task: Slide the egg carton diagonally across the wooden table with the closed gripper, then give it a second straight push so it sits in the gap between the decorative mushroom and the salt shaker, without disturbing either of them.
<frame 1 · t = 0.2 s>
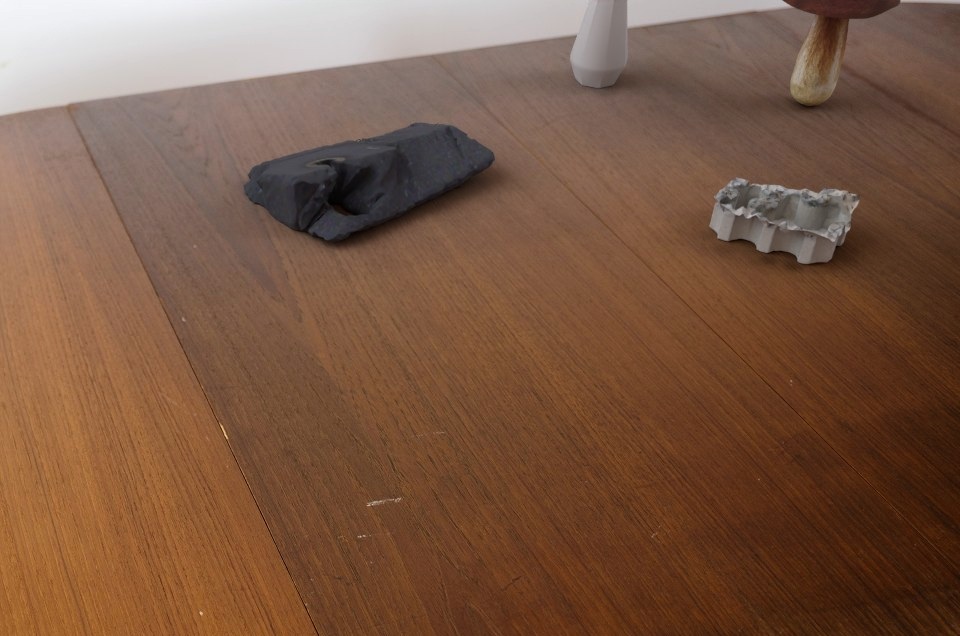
dark slate chunk: (372, 188, 115), on the table
egg carton: (774, 238, 106), on the table
decorative mushroom: (806, 104, 126), on the table
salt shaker: (594, 81, 132), on the table
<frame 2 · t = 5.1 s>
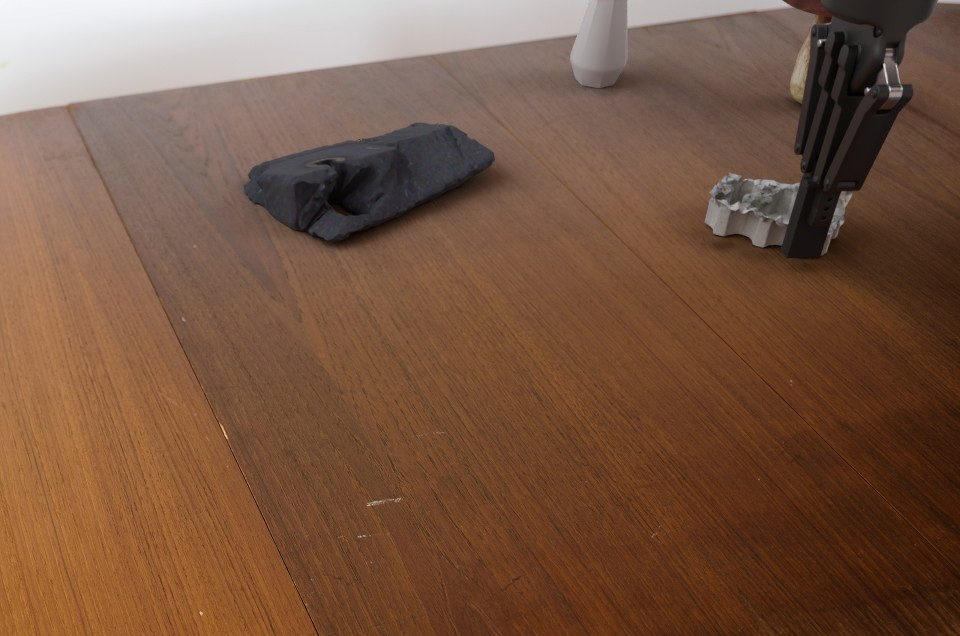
hand: (800, 252, 101), 1 cm above the table, tool pointing down, fingers closed
egg carton: (769, 232, 107), on the table, touching gripper
everything else where it was.
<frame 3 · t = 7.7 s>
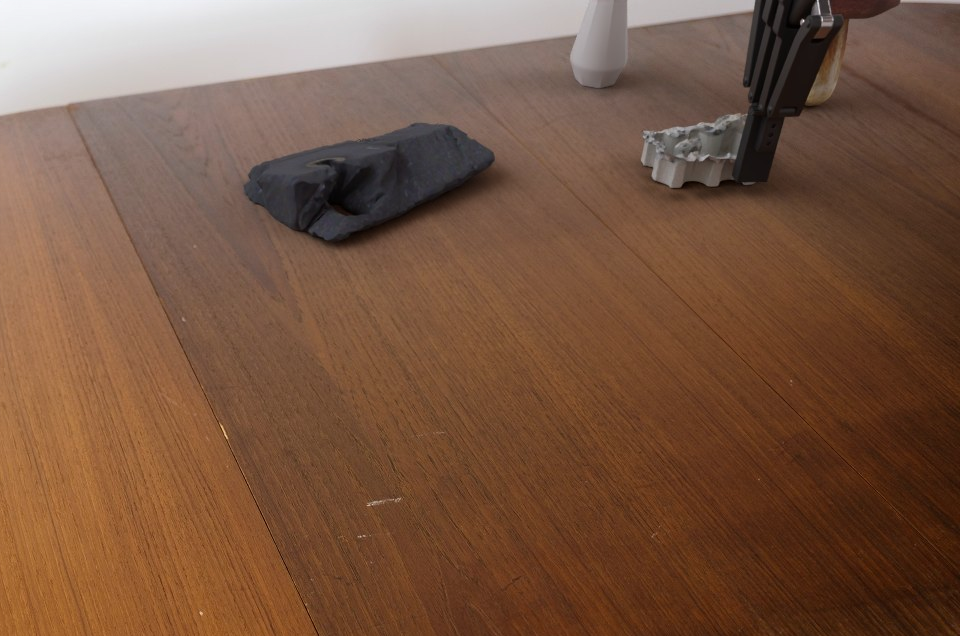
hand: (749, 178, 111), 1 cm above the table, tool pointing down, fingers closed
egg carton: (701, 172, 116), on the table, touching gripper
everything else where it was.
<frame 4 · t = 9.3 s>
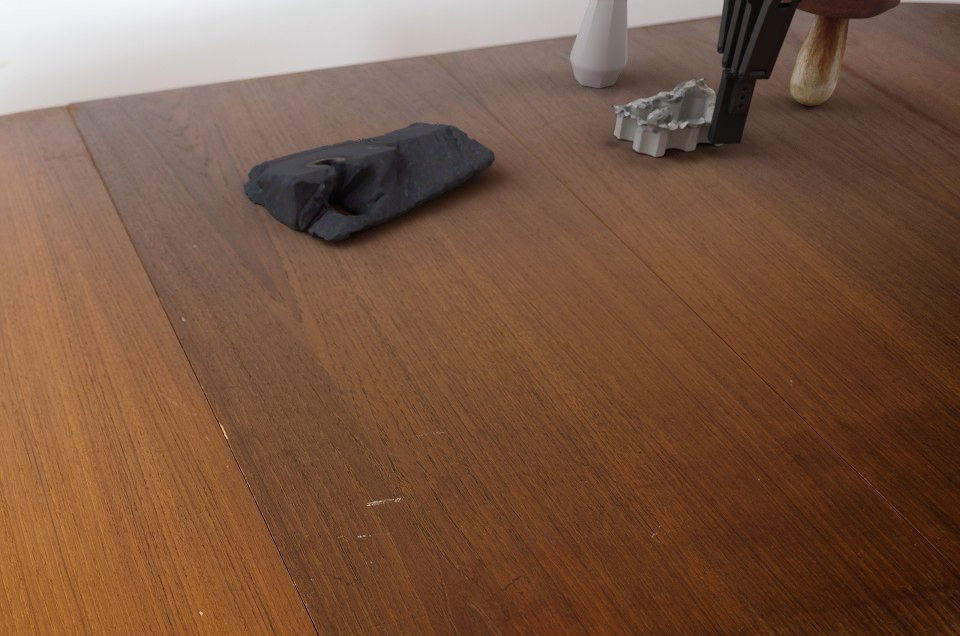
hand: (723, 140, 117), 1 cm above the table, tool pointing down, fingers closed
egg carton: (671, 139, 121), on the table, touching gripper
everything else where it was.
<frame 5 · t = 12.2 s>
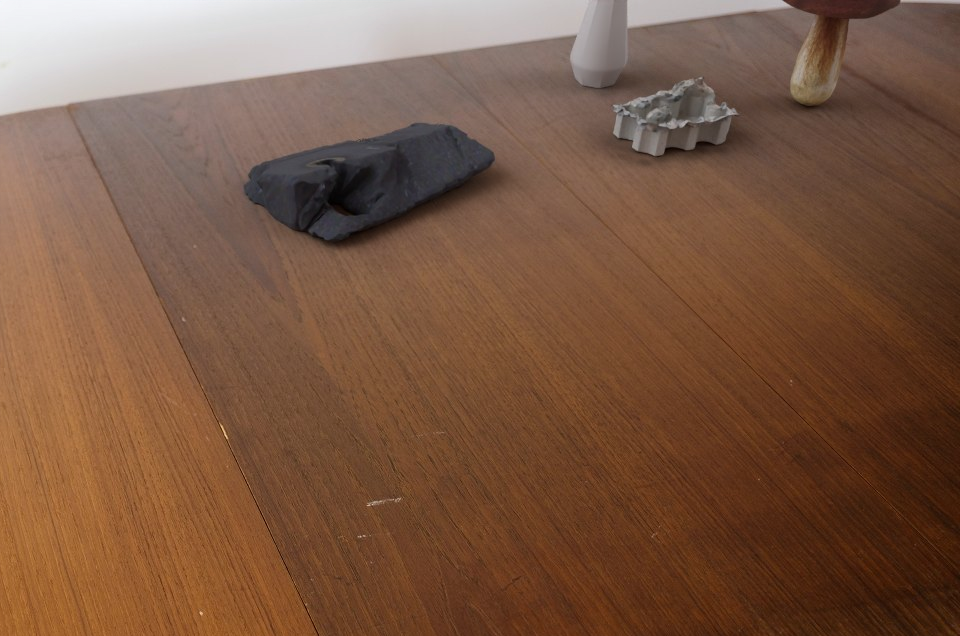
egg carton: (670, 138, 121), on the table
everything else where it was.
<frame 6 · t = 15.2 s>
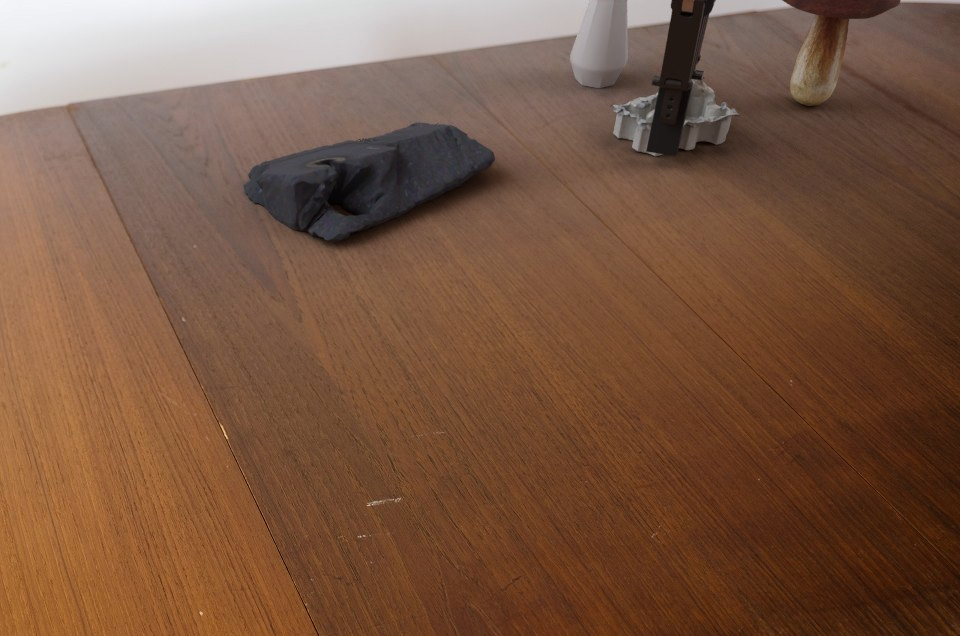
hand: (662, 150, 116), 1 cm above the table, tool pointing down, fingers closed
egg carton: (670, 138, 121), on the table, touching gripper
everything else where it was.
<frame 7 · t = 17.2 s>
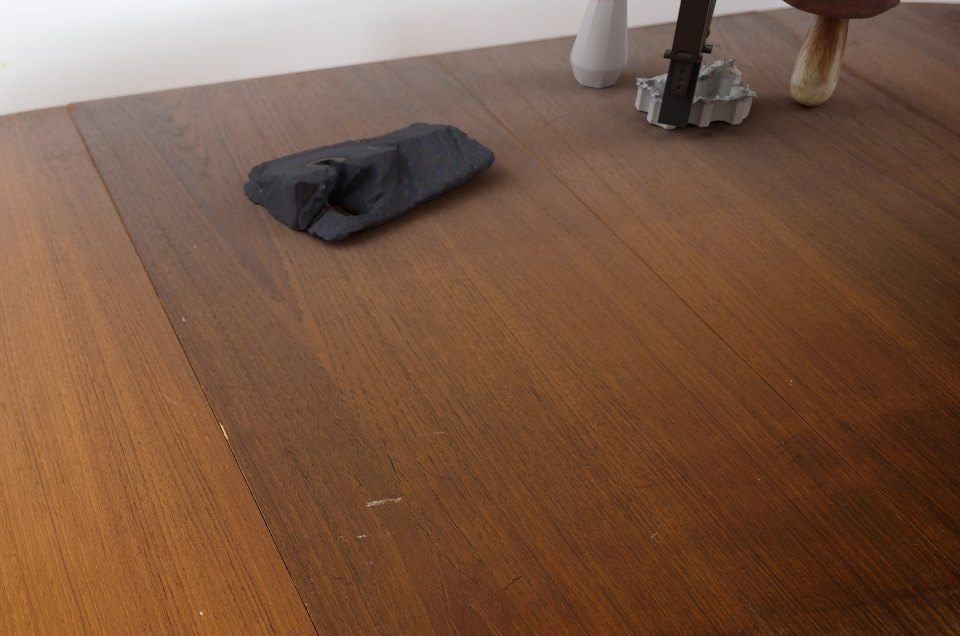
hand: (672, 122, 120), 1 cm above the table, tool pointing down, fingers closed
egg carton: (690, 115, 125), on the table, touching gripper
everything else where it was.
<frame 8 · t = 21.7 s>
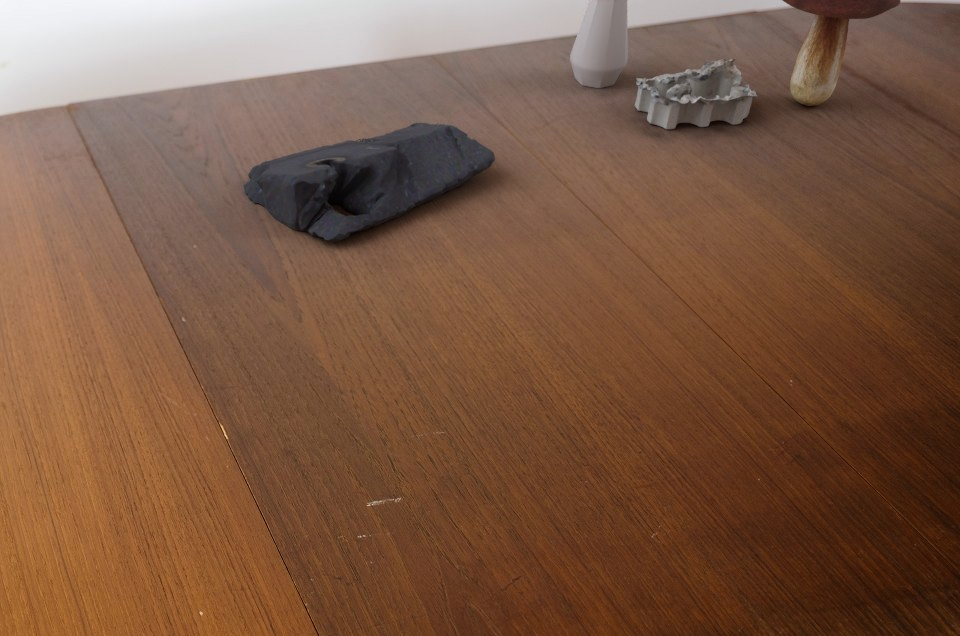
egg carton: (690, 115, 125), on the table
everything else where it was.
at the end: egg carton inside the target area (0.7 cm from its centre), on the table; decorative mushroom moved 0.2 cm from its start; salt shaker moved 0.2 cm from its start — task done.
